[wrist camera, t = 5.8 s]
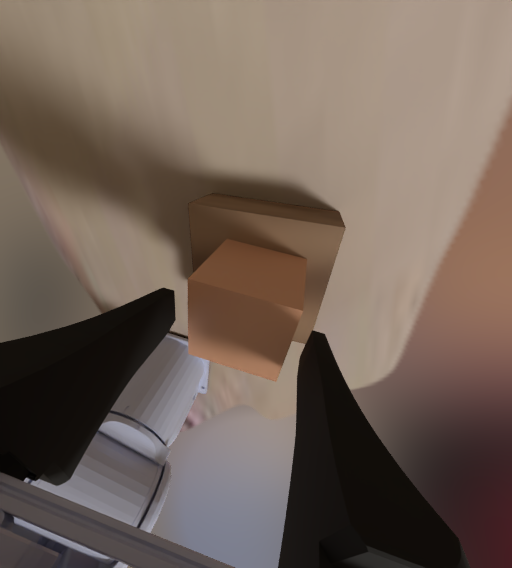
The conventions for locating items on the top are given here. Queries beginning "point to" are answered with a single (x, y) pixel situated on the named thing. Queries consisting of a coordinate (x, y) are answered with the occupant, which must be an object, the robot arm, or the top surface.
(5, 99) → the top surface
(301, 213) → the walnut block
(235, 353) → the terracotta cube
